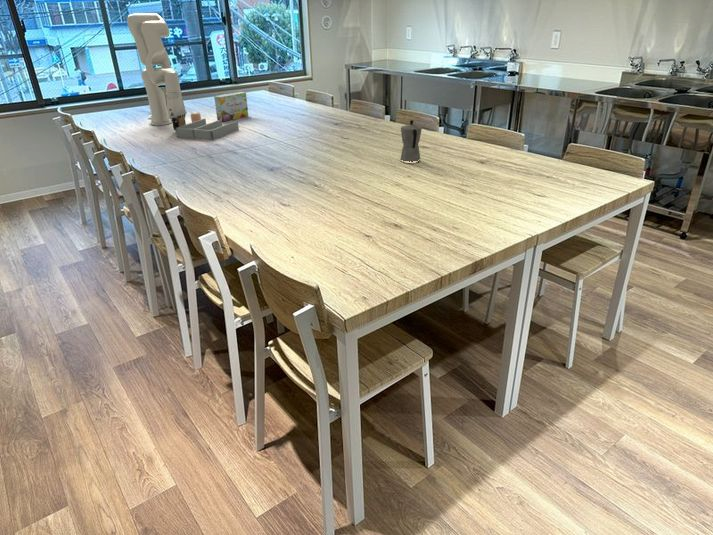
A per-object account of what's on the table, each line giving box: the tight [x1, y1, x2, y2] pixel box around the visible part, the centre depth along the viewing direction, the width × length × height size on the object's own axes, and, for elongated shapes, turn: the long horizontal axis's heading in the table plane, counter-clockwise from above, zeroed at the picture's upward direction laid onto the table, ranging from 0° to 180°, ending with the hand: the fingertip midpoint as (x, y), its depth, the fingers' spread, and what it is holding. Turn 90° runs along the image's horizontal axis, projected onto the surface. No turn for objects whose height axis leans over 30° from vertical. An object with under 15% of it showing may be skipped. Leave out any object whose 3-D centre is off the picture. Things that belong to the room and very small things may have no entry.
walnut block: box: [171, 116, 187, 131], centre depth 277 cm, size 5×5×7 cm
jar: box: [190, 111, 202, 123], centre depth 290 cm, size 6×6×8 cm
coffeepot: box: [399, 119, 423, 162], centre depth 215 cm, size 15×9×18 cm, turn 6°
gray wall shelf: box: [175, 118, 240, 141], centre depth 274 cm, size 23×26×5 cm
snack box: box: [213, 91, 249, 123], centre depth 306 cm, size 21×6×15 cm, turn 143°
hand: (179, 127), depth 279 cm, fingers closed on walnut block, 5 cm apart
